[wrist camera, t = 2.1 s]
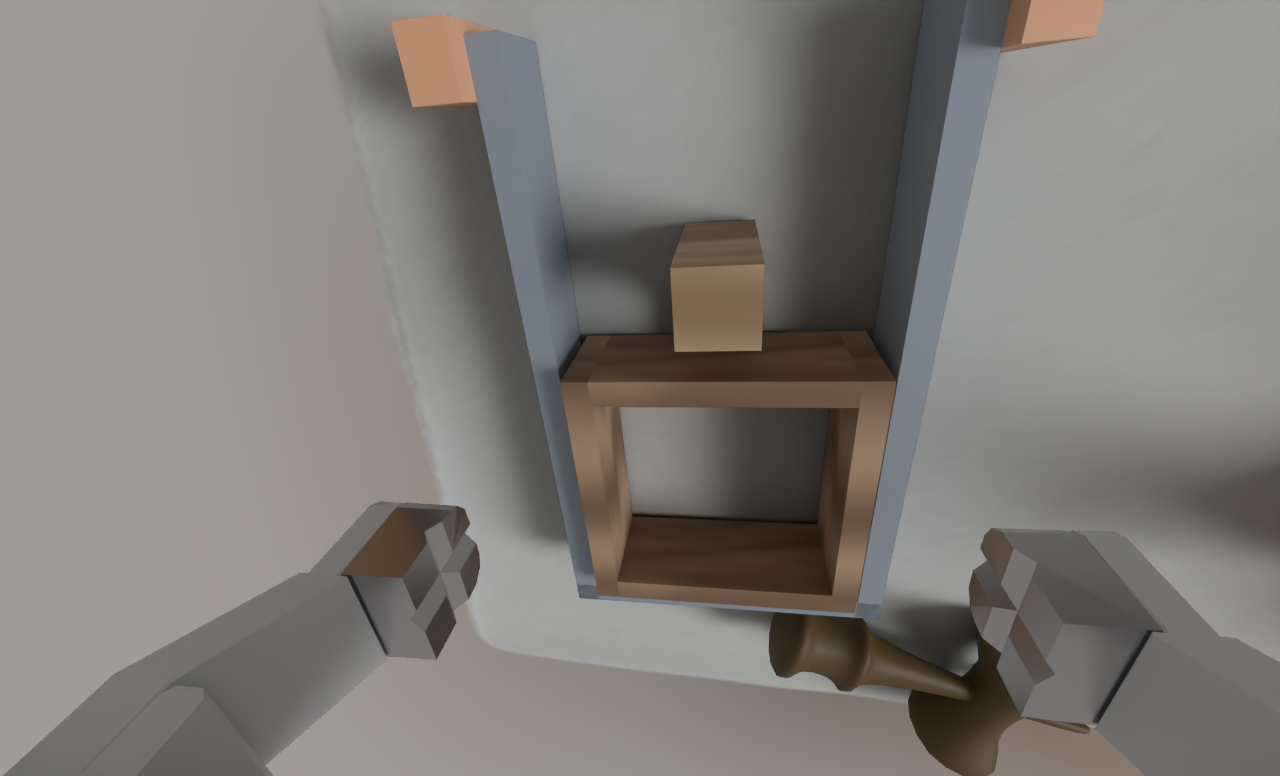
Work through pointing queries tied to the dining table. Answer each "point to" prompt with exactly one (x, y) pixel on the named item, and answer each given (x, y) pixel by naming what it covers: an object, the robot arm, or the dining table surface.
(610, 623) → the dining table surface
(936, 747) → the kendama
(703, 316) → the wooden square frame
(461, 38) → the frame
